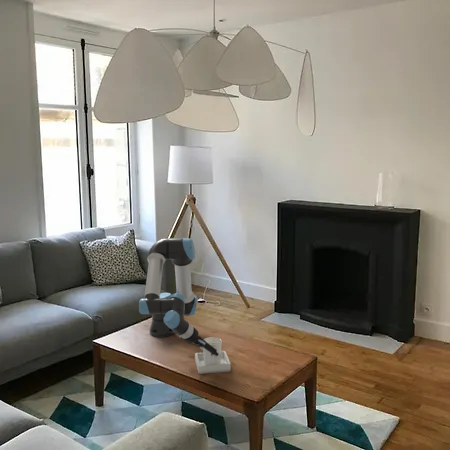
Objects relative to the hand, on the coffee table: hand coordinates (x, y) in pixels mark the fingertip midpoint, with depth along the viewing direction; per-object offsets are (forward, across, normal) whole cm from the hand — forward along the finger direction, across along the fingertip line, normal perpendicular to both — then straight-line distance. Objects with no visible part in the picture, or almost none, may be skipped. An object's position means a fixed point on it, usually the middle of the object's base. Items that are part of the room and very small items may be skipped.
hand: (214, 354), depth 265 cm
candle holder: (+2, 0, -4) cm, 5 cm away
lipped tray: (+3, 0, -5) cm, 6 cm away
